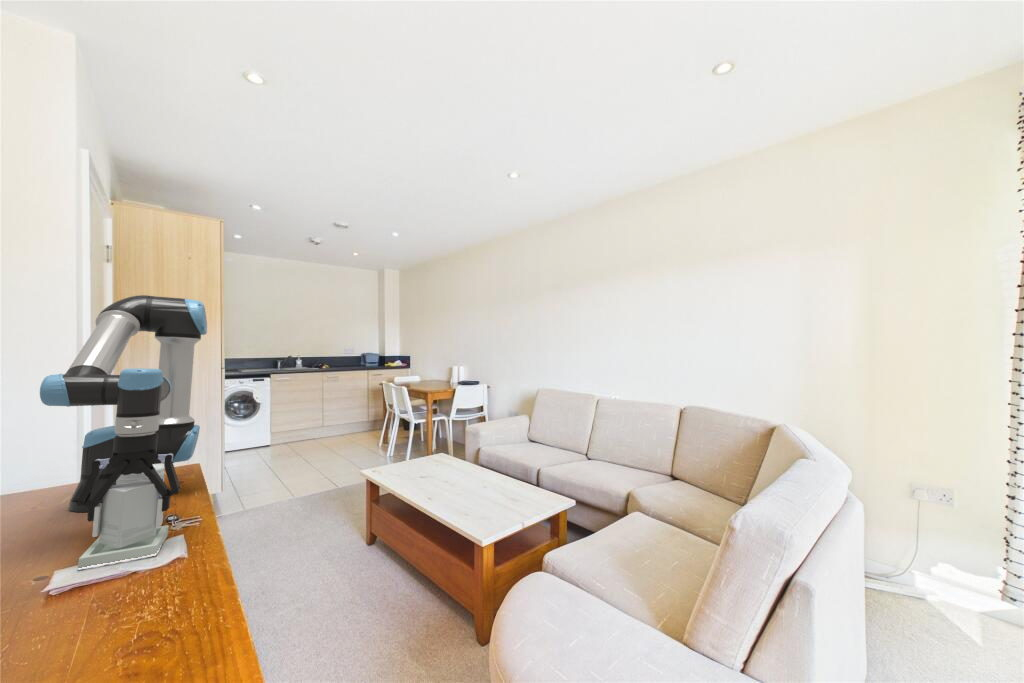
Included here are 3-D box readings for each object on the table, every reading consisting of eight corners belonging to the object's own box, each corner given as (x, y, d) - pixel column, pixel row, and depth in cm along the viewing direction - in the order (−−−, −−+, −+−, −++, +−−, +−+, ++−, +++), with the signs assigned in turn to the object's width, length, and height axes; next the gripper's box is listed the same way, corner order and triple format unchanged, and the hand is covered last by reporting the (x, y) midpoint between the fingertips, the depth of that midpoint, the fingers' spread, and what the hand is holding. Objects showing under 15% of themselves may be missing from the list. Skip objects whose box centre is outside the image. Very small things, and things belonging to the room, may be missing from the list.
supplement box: (157, 535, 92) (161, 482, 93) (117, 549, 85) (122, 491, 86) (137, 530, 94) (142, 478, 95) (97, 543, 87) (102, 487, 88)
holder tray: (99, 546, 91) (100, 535, 92) (168, 535, 98) (168, 525, 98) (77, 571, 81) (78, 558, 81) (156, 556, 88) (157, 545, 88)
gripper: (59, 440, 82) (49, 547, 81) (195, 432, 94) (188, 526, 93) (74, 434, 88) (65, 533, 87) (199, 427, 100) (193, 515, 99)
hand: (128, 529), depth 90 cm, fingers closed on supplement box, 10 cm apart
